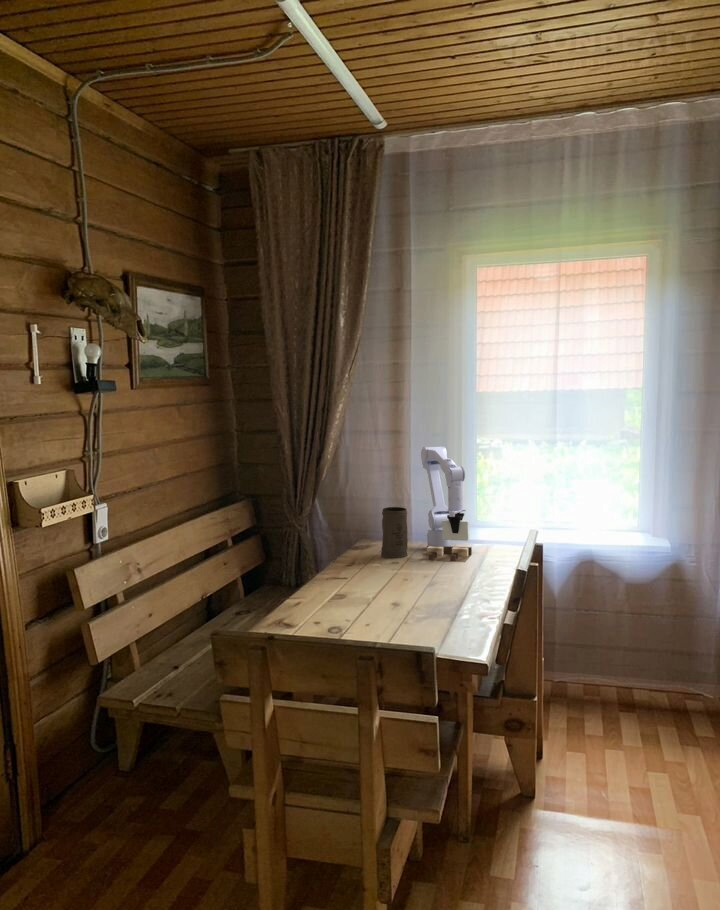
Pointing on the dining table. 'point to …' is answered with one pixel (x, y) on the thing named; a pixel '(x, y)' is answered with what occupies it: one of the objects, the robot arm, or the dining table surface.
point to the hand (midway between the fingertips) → (456, 532)
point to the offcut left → (435, 550)
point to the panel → (461, 535)
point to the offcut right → (460, 551)
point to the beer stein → (394, 533)
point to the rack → (447, 555)
